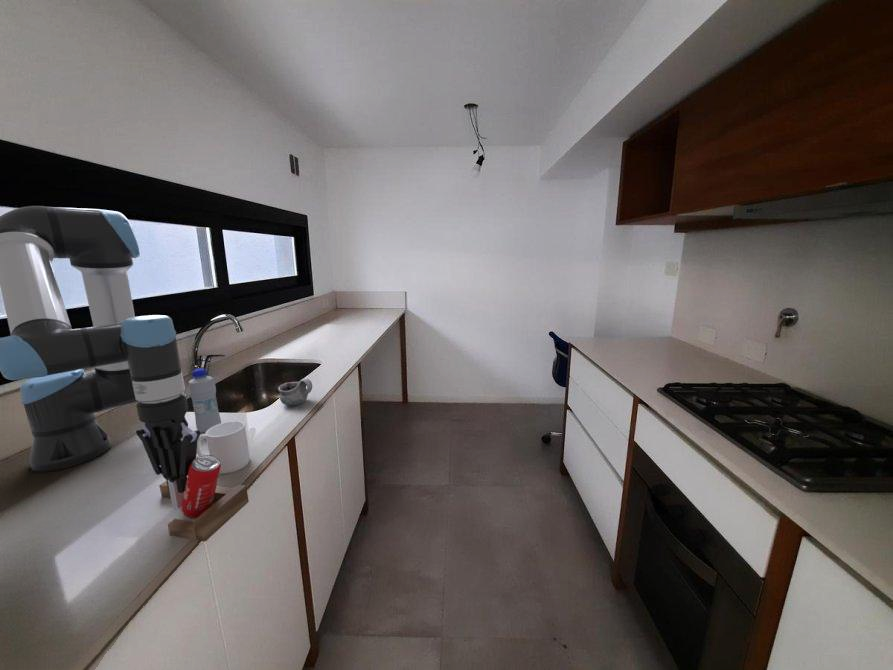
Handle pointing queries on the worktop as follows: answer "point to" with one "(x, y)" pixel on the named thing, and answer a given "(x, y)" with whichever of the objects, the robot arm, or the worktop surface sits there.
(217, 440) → the cup
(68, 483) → the worktop surface
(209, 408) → the bottle
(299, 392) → the mug
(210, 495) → the beverage can
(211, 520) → the hook tool
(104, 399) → the robot arm
